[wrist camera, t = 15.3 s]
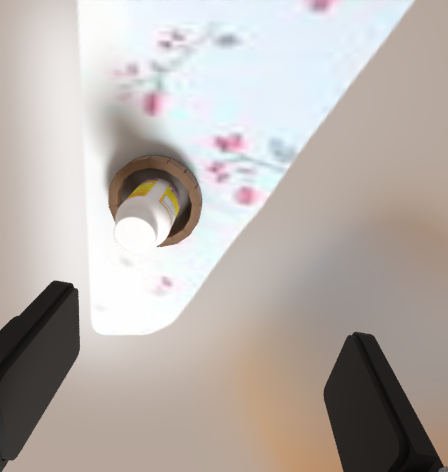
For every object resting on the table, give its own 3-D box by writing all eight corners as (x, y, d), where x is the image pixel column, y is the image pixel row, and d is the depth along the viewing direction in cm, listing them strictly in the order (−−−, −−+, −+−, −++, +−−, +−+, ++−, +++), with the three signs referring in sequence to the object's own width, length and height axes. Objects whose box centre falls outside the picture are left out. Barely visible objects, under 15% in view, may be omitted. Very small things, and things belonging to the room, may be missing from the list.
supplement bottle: (129, 207, 47) (95, 246, 36) (146, 168, 45) (115, 196, 33) (170, 227, 48) (150, 271, 37) (189, 190, 46) (173, 224, 34)
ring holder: (116, 147, 44) (109, 150, 42) (208, 164, 45) (206, 168, 42) (114, 230, 50) (107, 238, 48) (195, 245, 50) (193, 253, 48)
